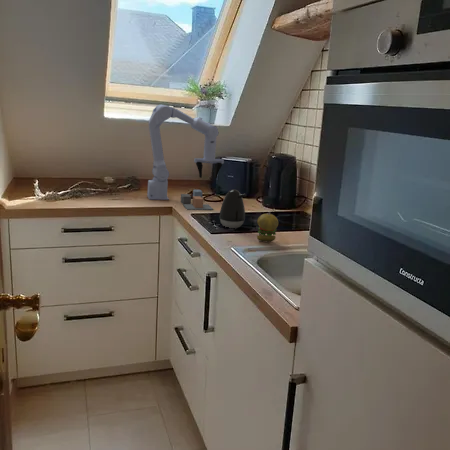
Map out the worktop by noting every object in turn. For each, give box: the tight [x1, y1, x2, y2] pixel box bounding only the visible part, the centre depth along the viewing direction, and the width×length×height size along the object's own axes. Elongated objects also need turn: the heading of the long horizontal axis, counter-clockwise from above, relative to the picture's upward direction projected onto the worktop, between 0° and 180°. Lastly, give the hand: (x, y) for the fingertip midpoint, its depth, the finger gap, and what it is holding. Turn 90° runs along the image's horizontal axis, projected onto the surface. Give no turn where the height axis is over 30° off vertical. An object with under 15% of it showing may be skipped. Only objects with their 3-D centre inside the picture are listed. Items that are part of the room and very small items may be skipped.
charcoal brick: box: [180, 193, 192, 205], centre depth 228 cm, size 4×6×4 cm, turn 17°
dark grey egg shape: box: [219, 189, 247, 229], centre depth 192 cm, size 10×10×15 cm
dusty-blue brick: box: [192, 189, 203, 198], centre depth 241 cm, size 4×6×4 cm, turn 13°
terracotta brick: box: [191, 195, 204, 208], centre depth 221 cm, size 4×6×4 cm, turn 15°
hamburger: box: [256, 212, 279, 243], centre depth 175 cm, size 8×7×12 cm
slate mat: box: [182, 203, 214, 211], centre depth 221 cm, size 12×9×1 cm
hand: (208, 177), depth 241 cm, fingers open, 7 cm apart
